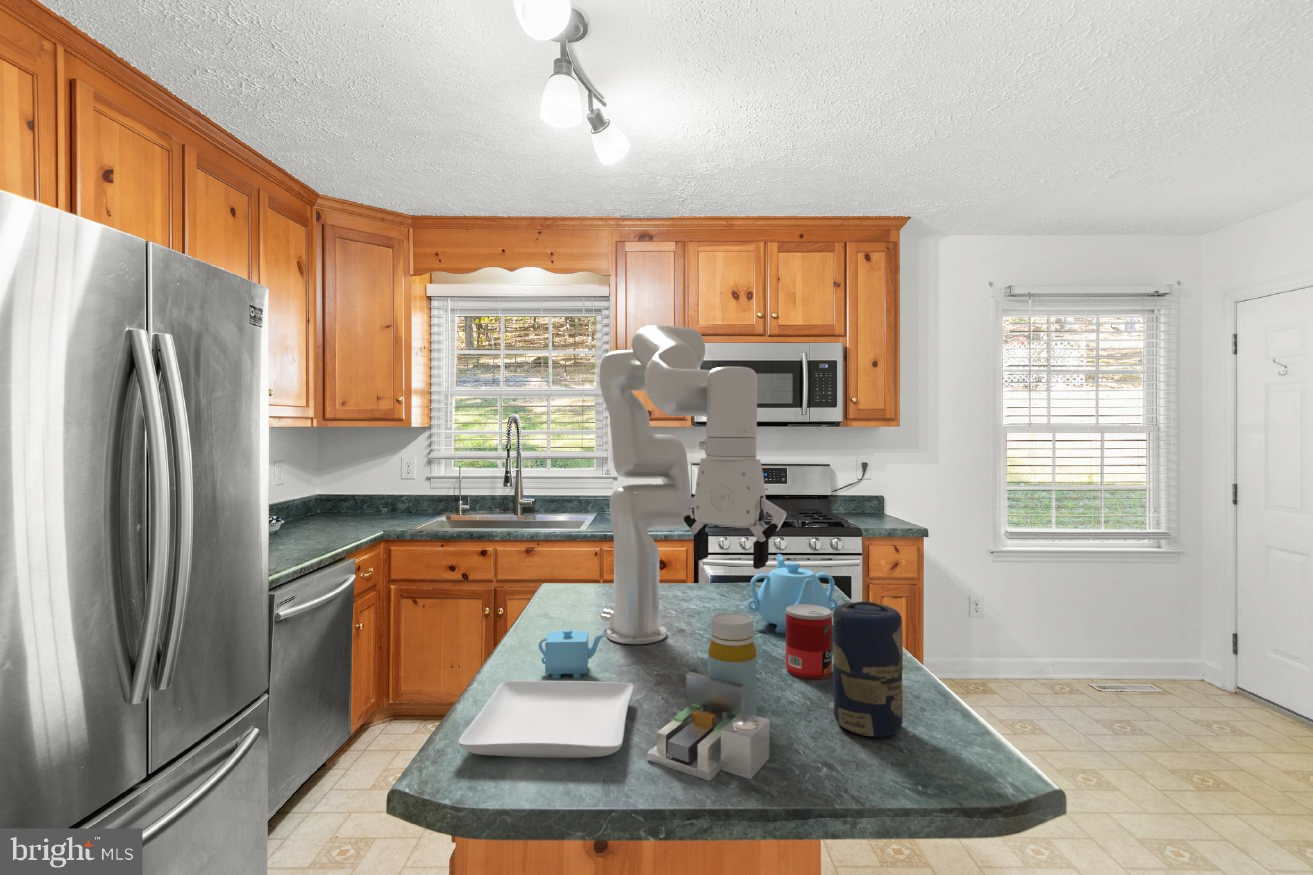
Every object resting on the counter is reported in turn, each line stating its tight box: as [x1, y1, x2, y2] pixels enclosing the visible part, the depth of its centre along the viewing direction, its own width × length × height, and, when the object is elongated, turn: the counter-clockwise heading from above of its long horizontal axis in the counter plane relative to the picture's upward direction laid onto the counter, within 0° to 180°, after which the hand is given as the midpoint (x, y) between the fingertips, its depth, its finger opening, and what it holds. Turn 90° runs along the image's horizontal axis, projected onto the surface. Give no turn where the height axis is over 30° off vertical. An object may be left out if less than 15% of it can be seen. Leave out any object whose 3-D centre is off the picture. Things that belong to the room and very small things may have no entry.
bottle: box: [707, 612, 757, 717], centre depth 91 cm, size 7×7×15 cm
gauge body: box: [646, 703, 770, 782], centre depth 81 cm, size 13×11×5 cm
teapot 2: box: [746, 553, 839, 634], centre depth 137 cm, size 16×20×14 cm
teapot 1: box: [538, 628, 607, 679], centre depth 109 cm, size 12×6×8 cm, turn 94°
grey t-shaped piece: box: [668, 671, 745, 762], centre depth 82 cm, size 8×11×7 cm
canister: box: [832, 600, 904, 738], centre depth 89 cm, size 10×10×18 cm
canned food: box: [785, 604, 833, 680], centre depth 110 cm, size 8×8×11 cm
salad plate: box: [457, 680, 635, 759], centre depth 88 cm, size 21×21×3 cm
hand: (729, 563), depth 93 cm, fingers open, 9 cm apart
